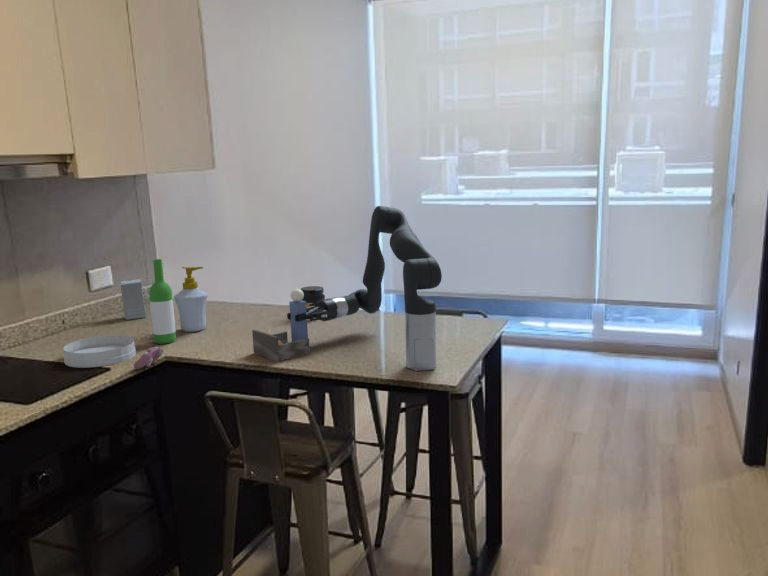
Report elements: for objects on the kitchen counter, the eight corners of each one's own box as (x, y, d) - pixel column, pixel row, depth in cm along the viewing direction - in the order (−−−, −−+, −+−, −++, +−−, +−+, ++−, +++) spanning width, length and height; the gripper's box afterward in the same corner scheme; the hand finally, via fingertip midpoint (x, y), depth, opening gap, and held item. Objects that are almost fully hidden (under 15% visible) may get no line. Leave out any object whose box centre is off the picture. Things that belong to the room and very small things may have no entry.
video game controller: (144, 375, 200) (151, 356, 198) (131, 368, 200) (138, 349, 199) (160, 365, 209) (167, 347, 208) (148, 358, 210) (155, 340, 208)
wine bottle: (151, 345, 228) (142, 261, 222) (157, 339, 235) (149, 258, 230) (173, 344, 228) (165, 260, 223) (178, 338, 236) (171, 257, 230)
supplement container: (298, 320, 259) (297, 291, 257) (301, 314, 270) (300, 286, 267) (324, 319, 259) (323, 290, 257) (326, 313, 270) (325, 285, 267)
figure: (301, 344, 222) (298, 287, 218) (309, 347, 219) (306, 288, 215) (291, 347, 219) (287, 289, 215) (298, 350, 216) (295, 290, 212)
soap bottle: (204, 333, 242) (199, 269, 237) (171, 334, 242) (165, 269, 237) (214, 325, 254) (210, 263, 249) (183, 325, 255) (177, 264, 250)
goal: (286, 345, 223) (284, 322, 222) (309, 353, 213) (308, 329, 212) (253, 353, 215) (252, 330, 213) (276, 361, 205) (275, 337, 203)
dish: (72, 352, 223) (70, 338, 222) (139, 346, 228) (138, 332, 227) (57, 371, 201) (55, 356, 200) (131, 364, 207) (130, 349, 206)
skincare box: (144, 314, 276) (141, 278, 272) (146, 318, 269) (142, 281, 266) (123, 317, 272) (119, 280, 269) (124, 320, 266) (120, 283, 263)
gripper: (319, 295, 231) (279, 303, 219) (344, 301, 220) (303, 309, 209) (320, 315, 232) (280, 324, 221) (345, 322, 222) (304, 332, 210)
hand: (291, 317), depth 215 cm, fingers closed on figure, 4 cm apart
